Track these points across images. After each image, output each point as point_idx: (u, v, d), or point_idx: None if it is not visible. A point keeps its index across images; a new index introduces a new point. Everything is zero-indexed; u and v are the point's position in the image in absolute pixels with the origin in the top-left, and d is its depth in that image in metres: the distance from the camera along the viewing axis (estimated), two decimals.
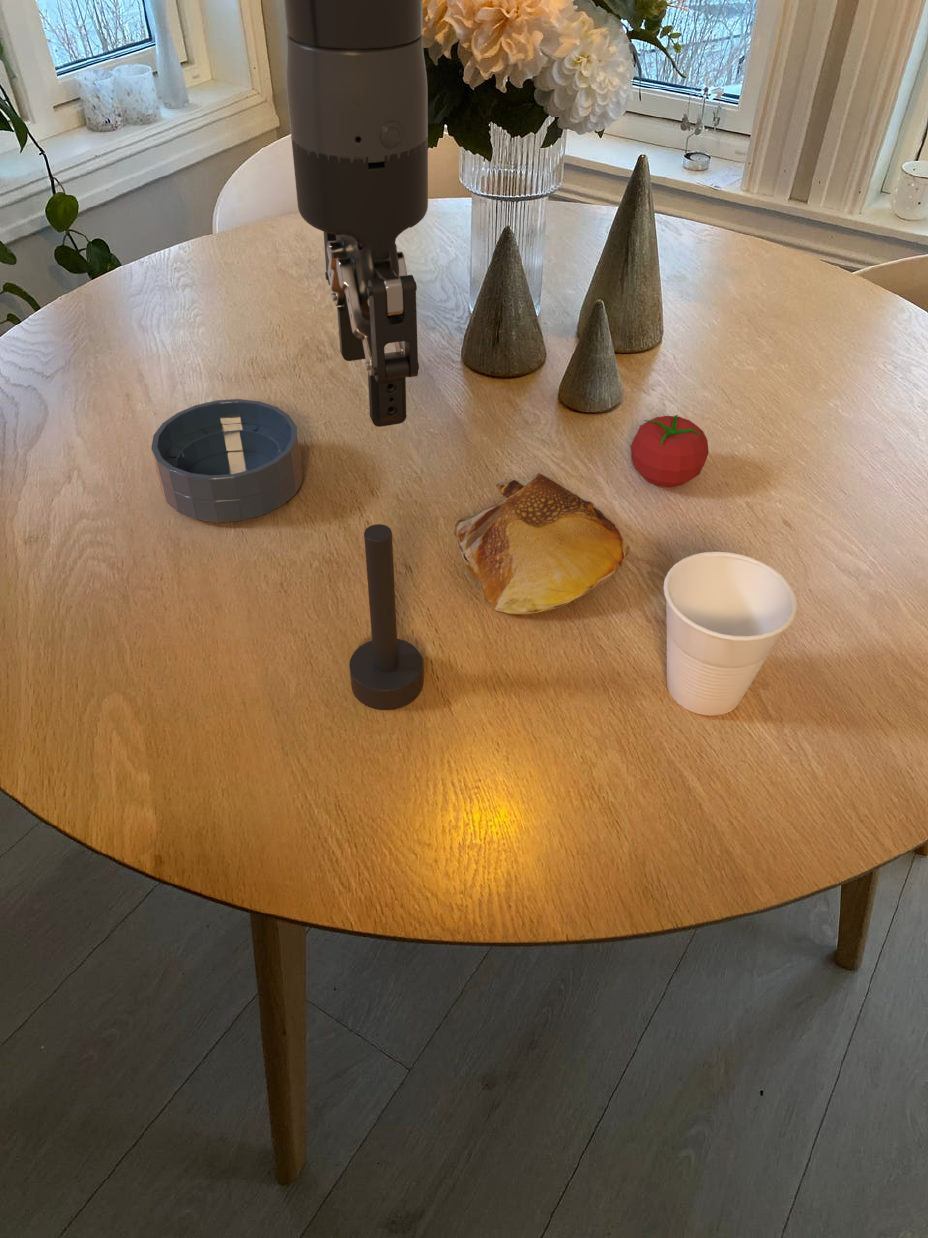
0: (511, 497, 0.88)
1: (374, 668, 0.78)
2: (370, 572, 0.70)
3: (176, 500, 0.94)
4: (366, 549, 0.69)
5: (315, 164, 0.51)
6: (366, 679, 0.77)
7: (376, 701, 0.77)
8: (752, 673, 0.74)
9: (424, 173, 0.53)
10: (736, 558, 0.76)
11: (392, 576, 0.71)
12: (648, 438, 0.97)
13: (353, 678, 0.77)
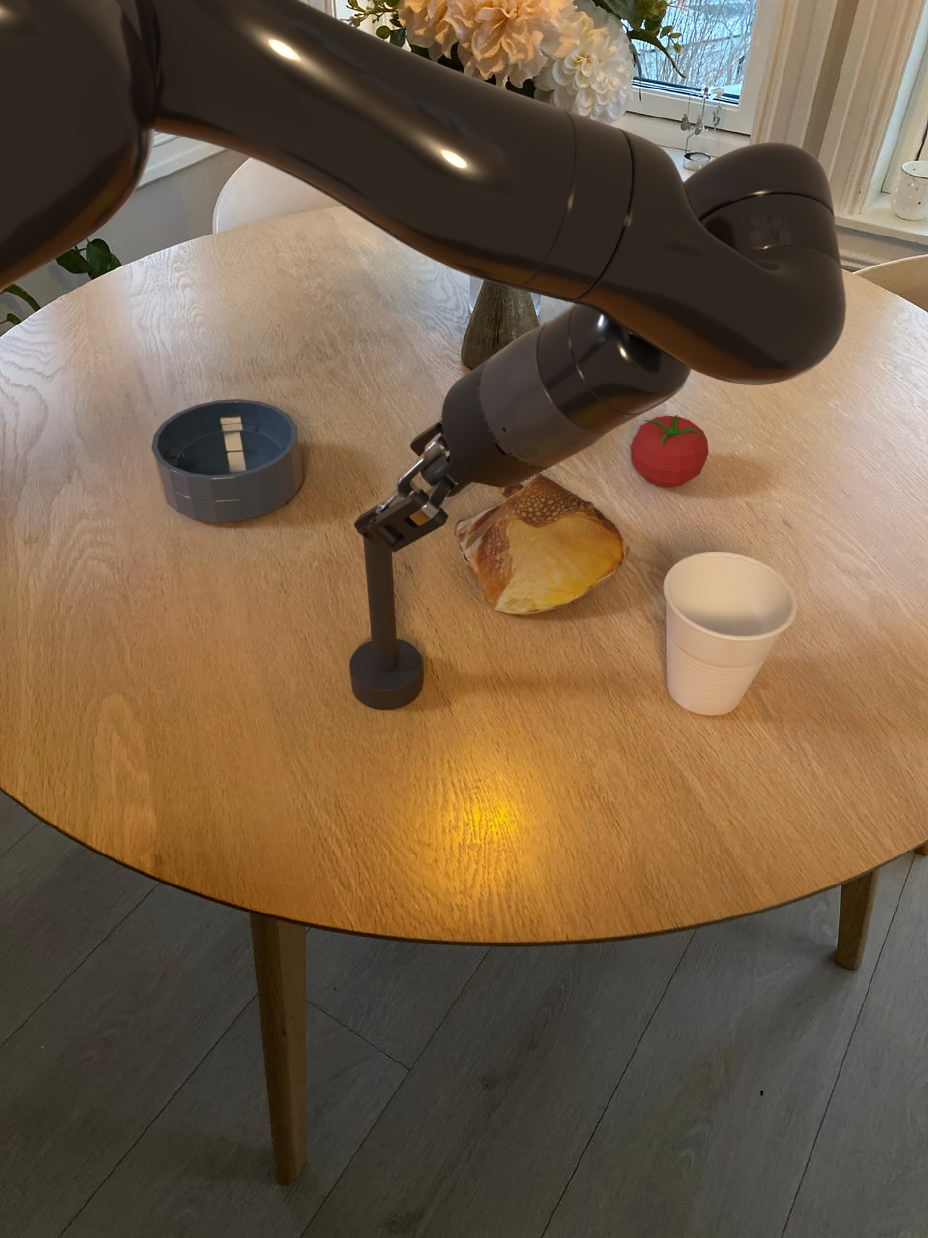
0: (511, 497, 0.88)
1: (374, 668, 0.78)
2: (369, 572, 0.70)
3: (176, 500, 0.94)
4: (365, 549, 0.69)
5: (473, 399, 0.56)
6: (366, 680, 0.77)
7: (376, 701, 0.77)
8: (752, 673, 0.74)
9: (533, 474, 0.59)
10: (736, 558, 0.76)
11: (391, 576, 0.71)
12: (648, 438, 0.97)
13: (353, 678, 0.77)
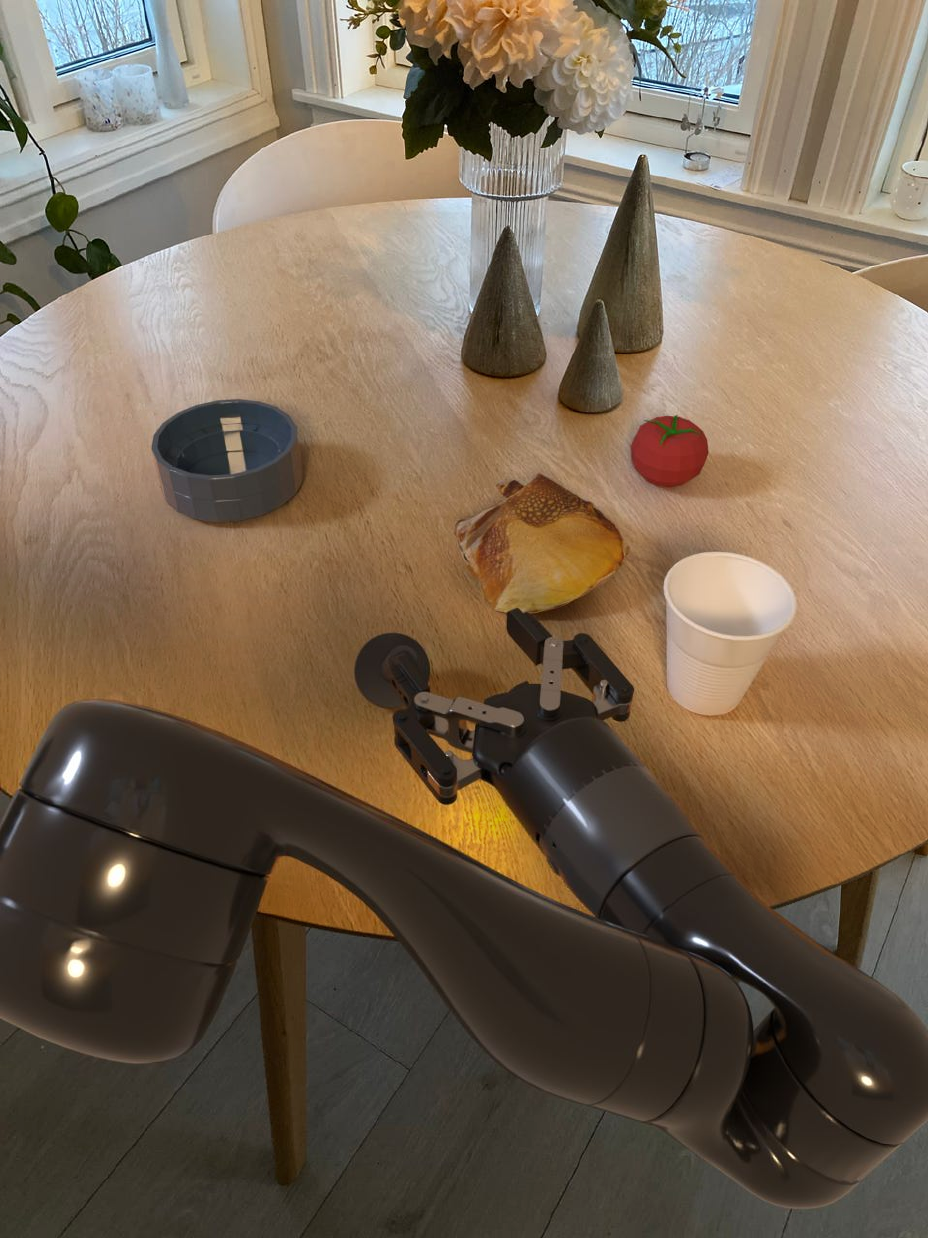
0: (511, 497, 0.88)
1: (379, 676, 0.76)
2: (389, 672, 0.65)
3: (176, 500, 0.94)
4: (388, 666, 0.63)
5: (562, 791, 0.51)
6: (369, 690, 0.75)
7: None
8: (752, 673, 0.74)
9: None
10: (736, 558, 0.76)
11: None
12: (648, 438, 0.97)
13: (357, 684, 0.75)
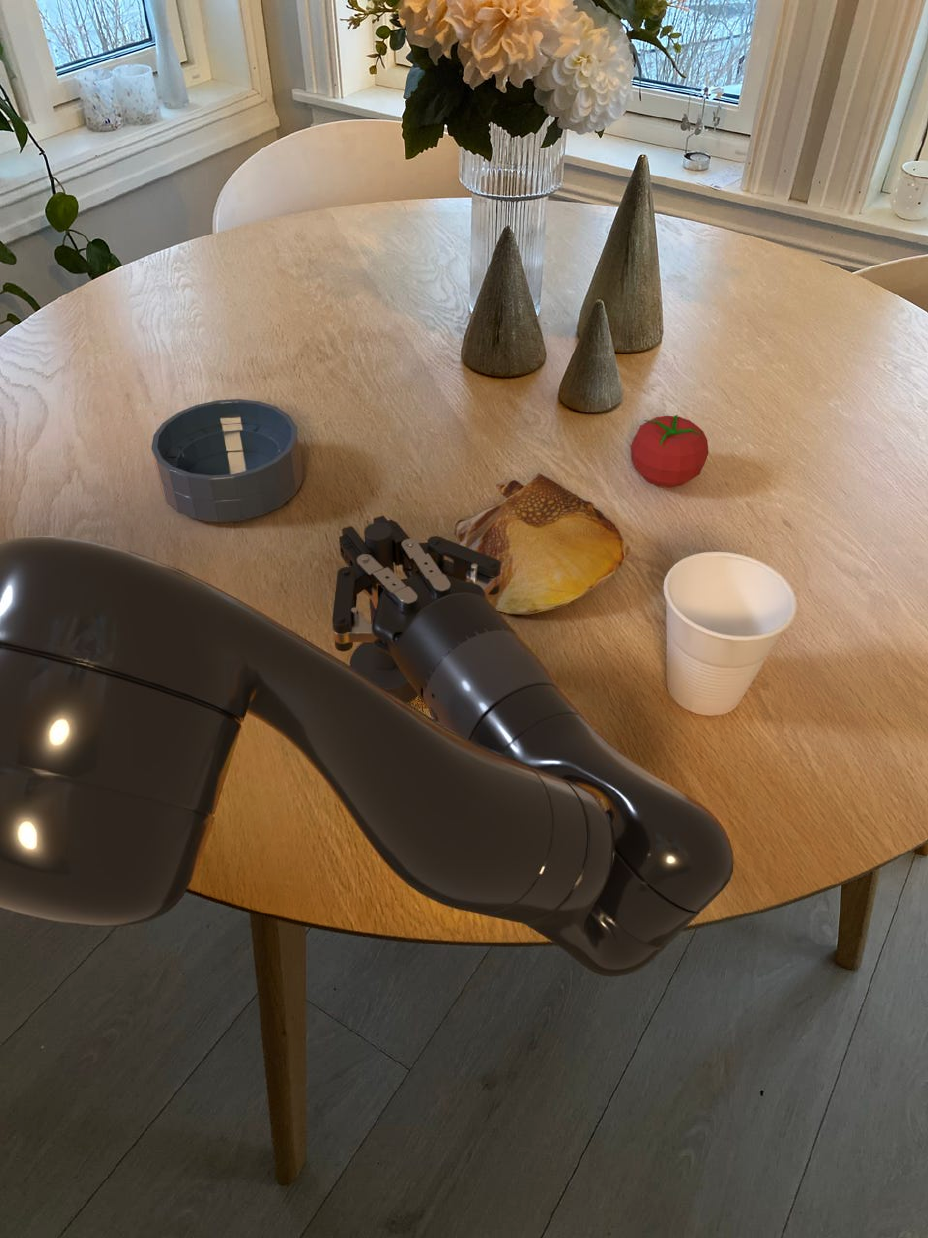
0: (511, 497, 0.88)
1: (373, 664, 0.78)
2: None
3: (176, 500, 0.94)
4: None
5: (440, 649, 0.59)
6: None
7: None
8: (752, 673, 0.74)
9: None
10: (736, 558, 0.76)
11: None
12: (648, 438, 0.97)
13: None
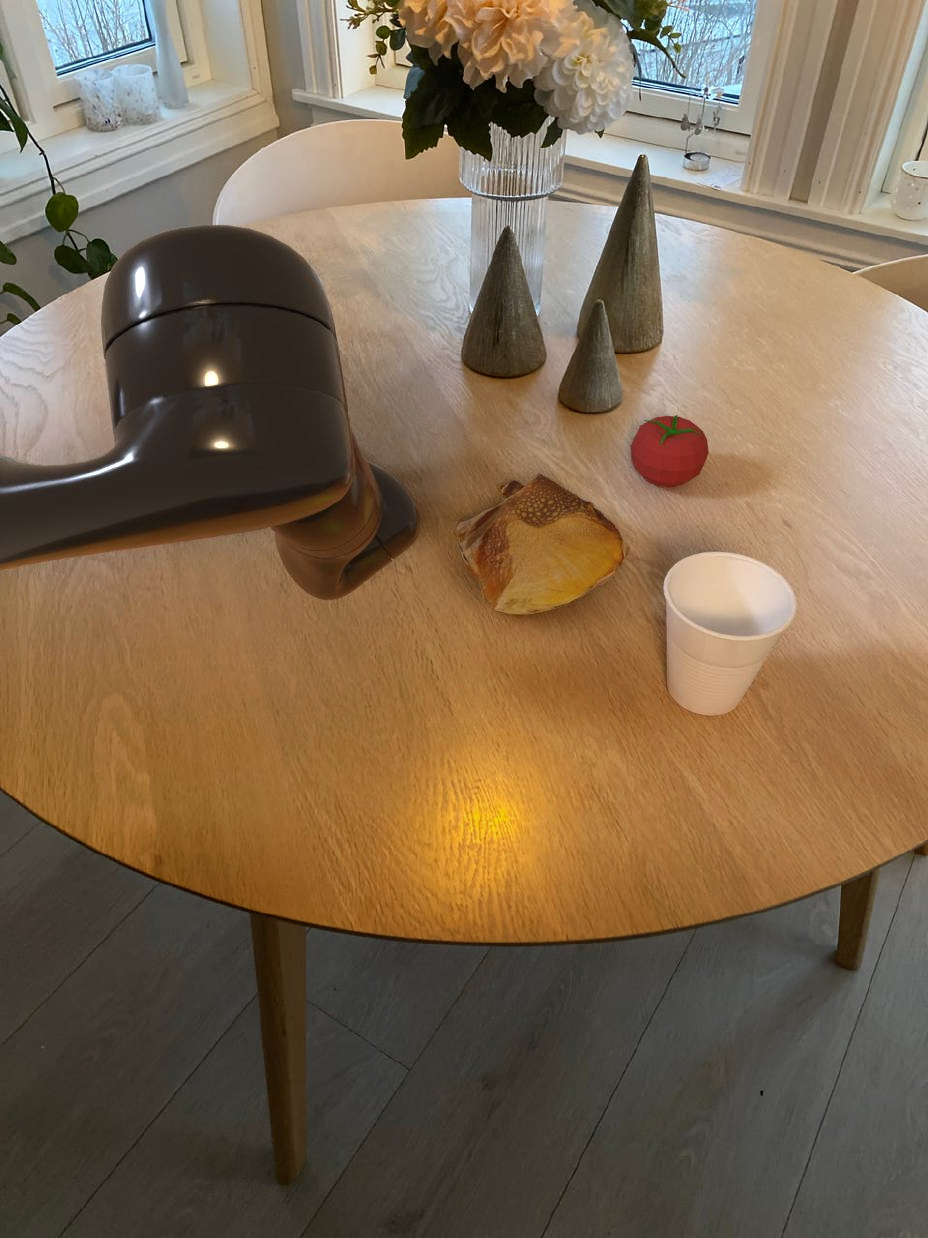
0: (511, 497, 0.88)
1: None
2: None
3: None
4: None
5: None
6: None
7: None
8: (752, 673, 0.74)
9: None
10: (736, 558, 0.76)
11: None
12: (648, 438, 0.97)
13: None
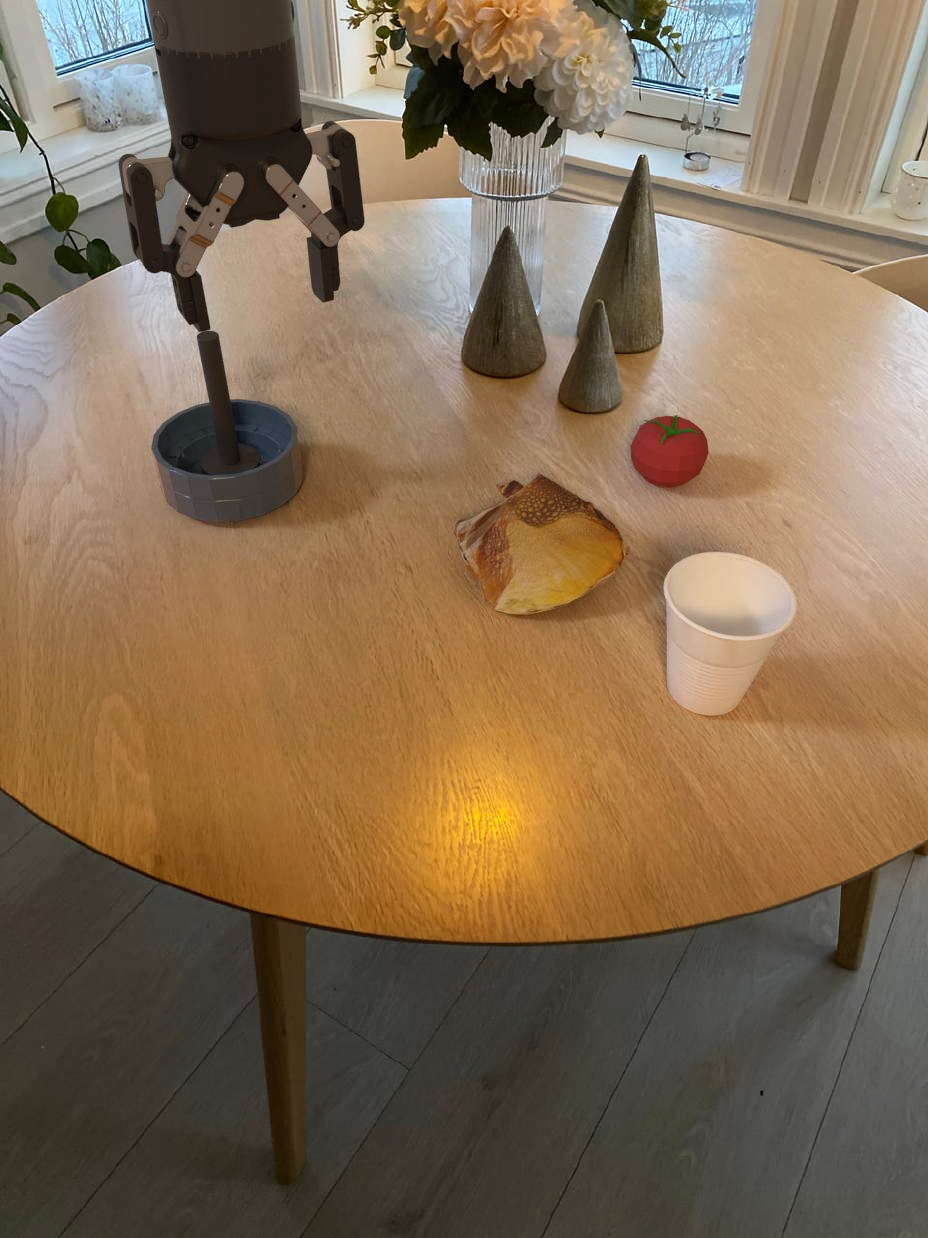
0: (511, 497, 0.88)
1: (219, 461, 0.97)
2: (203, 368, 0.90)
3: (176, 500, 0.94)
4: None
5: None
6: (208, 467, 0.96)
7: None
8: (752, 673, 0.74)
9: (210, 88, 0.50)
10: (736, 558, 0.76)
11: (221, 376, 0.90)
12: (648, 438, 0.97)
13: (201, 465, 0.97)
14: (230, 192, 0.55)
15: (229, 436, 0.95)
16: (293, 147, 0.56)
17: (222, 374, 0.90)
